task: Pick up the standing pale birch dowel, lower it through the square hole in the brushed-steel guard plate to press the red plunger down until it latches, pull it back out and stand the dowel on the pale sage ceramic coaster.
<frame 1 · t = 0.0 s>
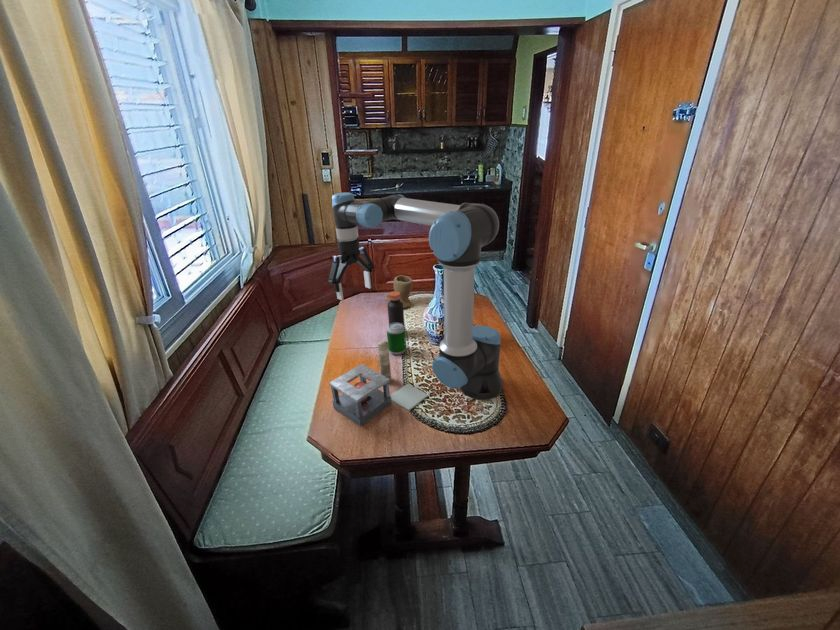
hand: (354, 293, 147), 28 cm above the table, fingers open, 13 cm apart
plunger: (360, 391, 129), point 6 cm above the table, slide at 0.0 cm
bottle: (397, 334, 174), on the table
coaster: (408, 397, 134), on the table
soda can: (397, 351, 161), on the table
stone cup: (401, 303, 202), on the table
dowel: (386, 380, 144), on the table
grey open frame cage: (362, 405, 131), on the table
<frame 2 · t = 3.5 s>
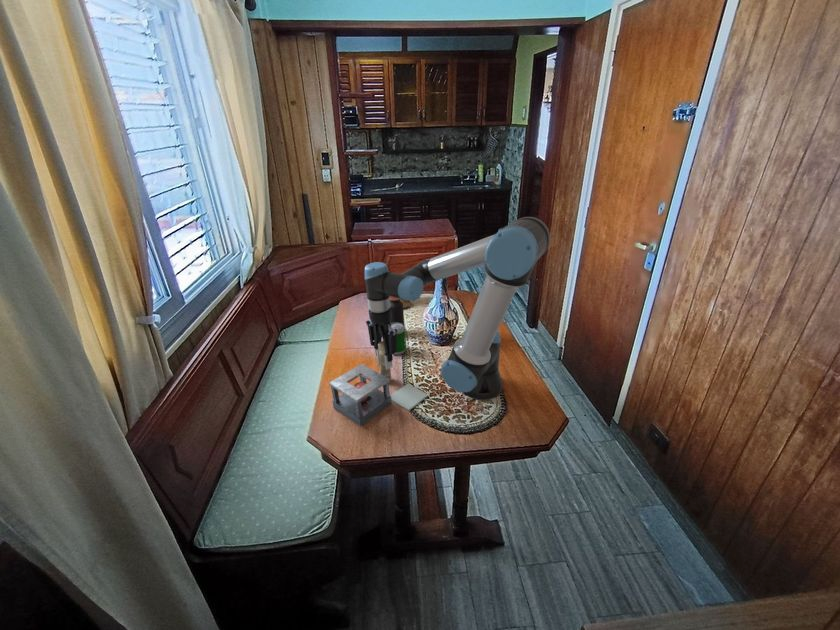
hand: (385, 365, 141), 7 cm above the table, fingers closed on dowel, 3 cm apart
dowel: (386, 380, 144), on the table, touching gripper
everything else where it was.
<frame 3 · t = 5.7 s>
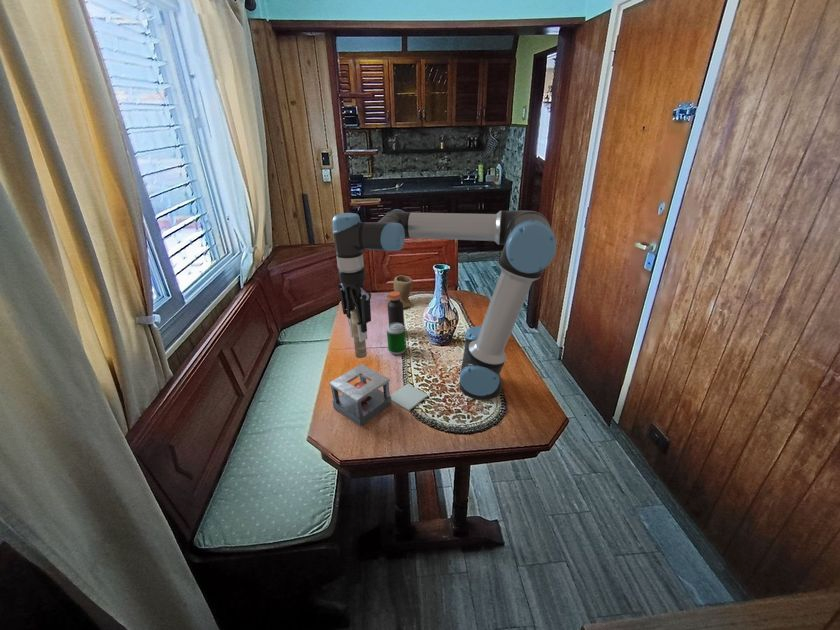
hand: (359, 337, 123), 25 cm above the table, fingers closed on dowel, 3 cm apart
dowel: (361, 355, 126), point 18 cm above the table, touching gripper
everything else where it was.
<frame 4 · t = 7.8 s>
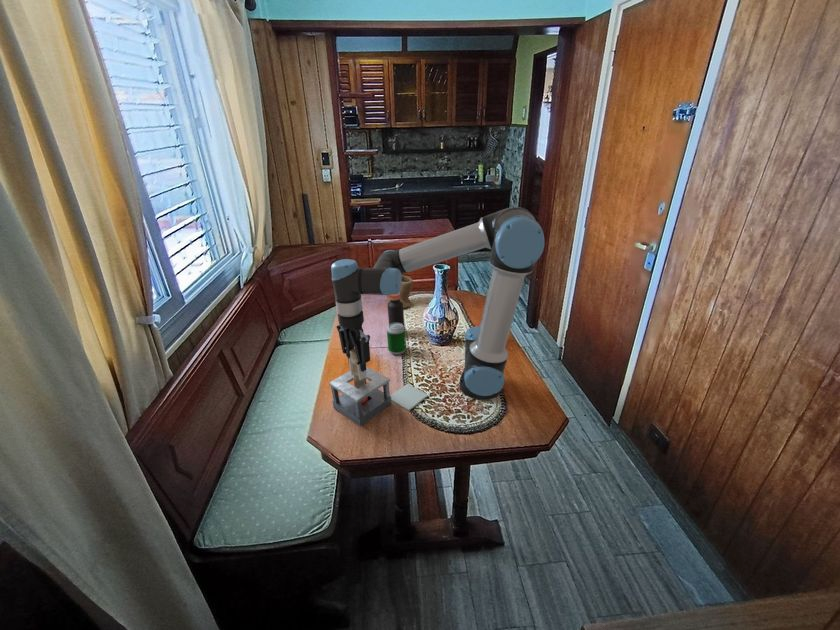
hand: (358, 375, 126), 13 cm above the table, fingers closed on dowel, 3 cm apart
plunger: (361, 397, 130), point 3 cm above the table, slide at 2.5 cm
dowel: (360, 391, 129), point 6 cm above the table, touching gripper
everything else where it was.
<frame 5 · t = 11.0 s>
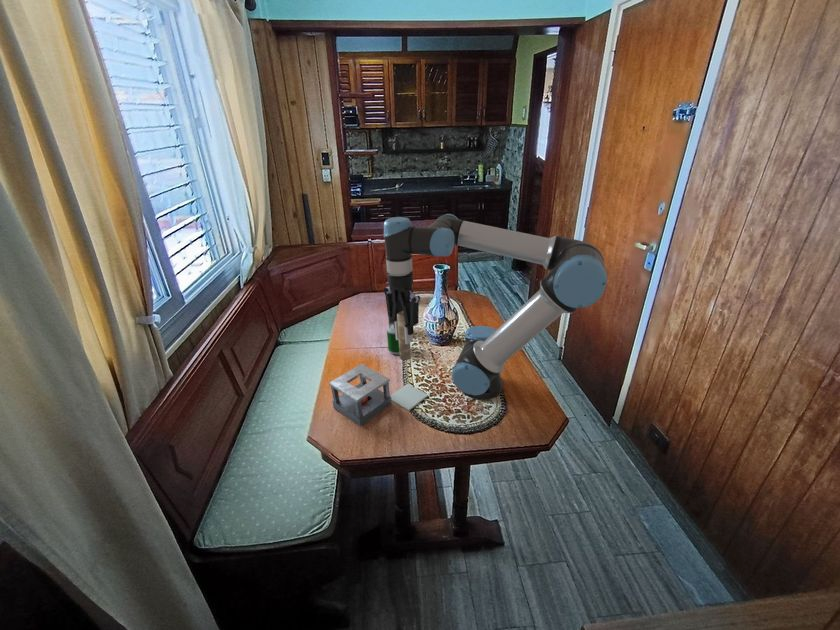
hand: (404, 340, 124), 23 cm above the table, fingers closed on dowel, 3 cm apart
dowel: (405, 357, 127), point 17 cm above the table, touching gripper
everything else where it was.
when the fingers open (8 cm above the table, at t = 13.7 s): dowel drops 1 cm, resting on coaster.
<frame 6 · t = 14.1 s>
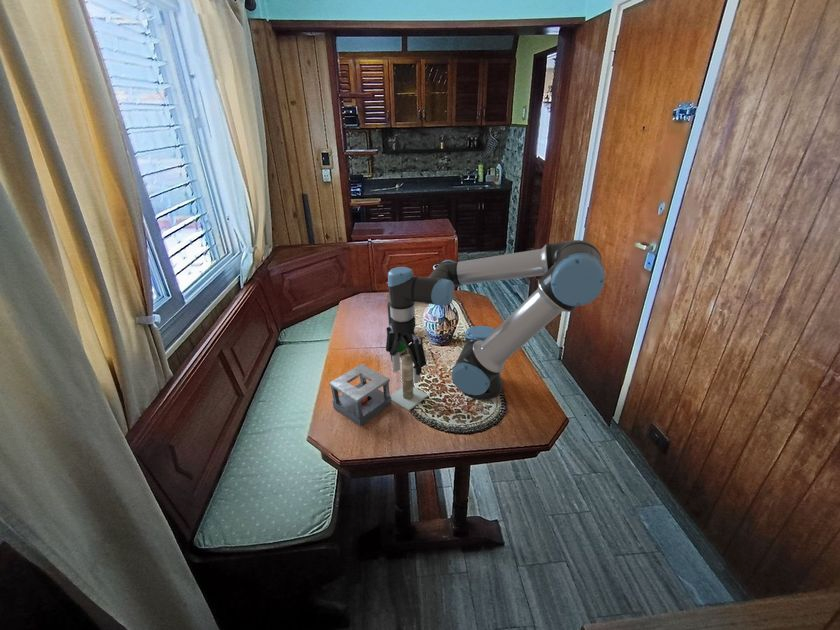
hand: (406, 375, 130), 9 cm above the table, fingers open, 9 cm apart
dowel: (408, 395, 134), point 1 cm above the table, touching coaster
everything else where it was.
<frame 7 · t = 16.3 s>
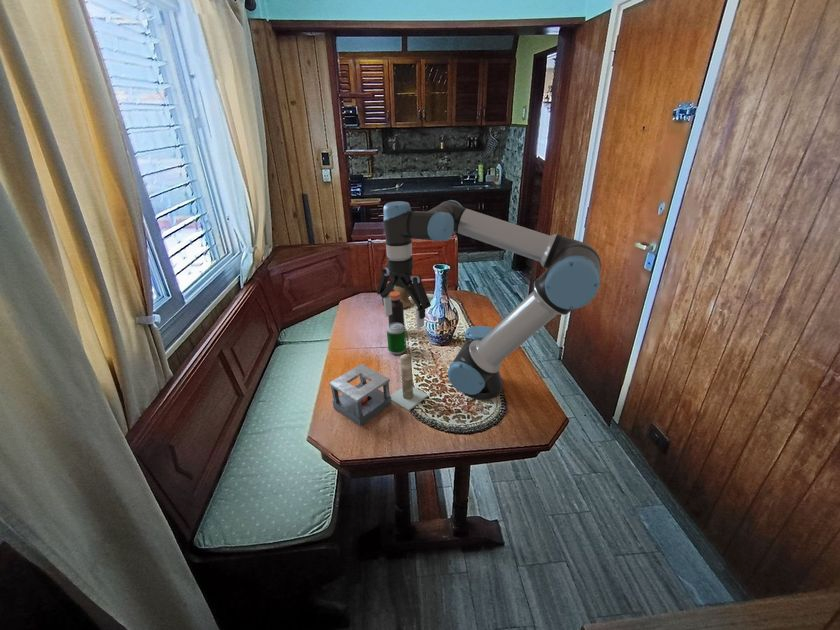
hand: (404, 320, 123), 29 cm above the table, fingers open, 13 cm apart
nothing on the table moved.
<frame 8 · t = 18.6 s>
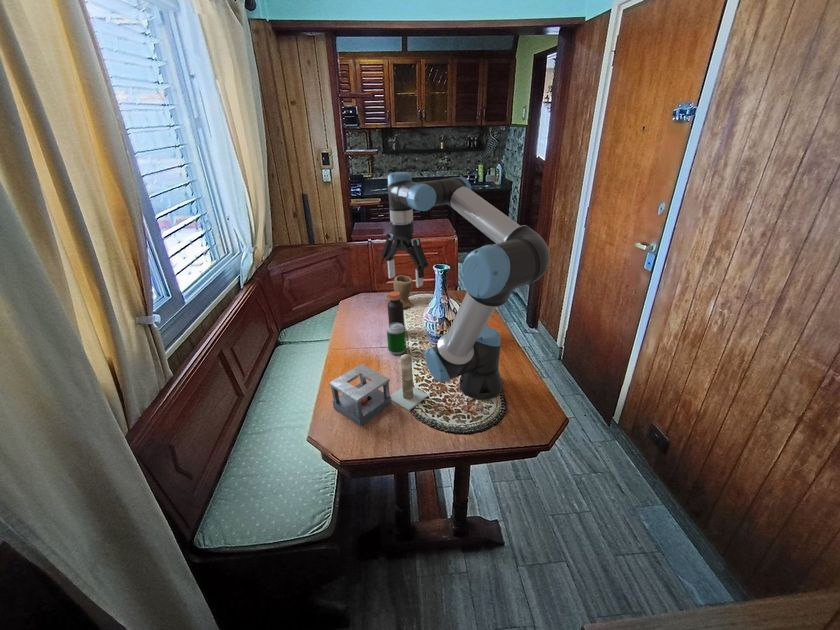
hand: (405, 281, 137), 35 cm above the table, fingers open, 13 cm apart
nothing on the table moved.
at the end: plunger slide at 2.5 cm; dowel inside the target area on the coaster (0.0 cm from its centre), point 0.6 cm above the coaster's base; dowel tilted 1° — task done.
